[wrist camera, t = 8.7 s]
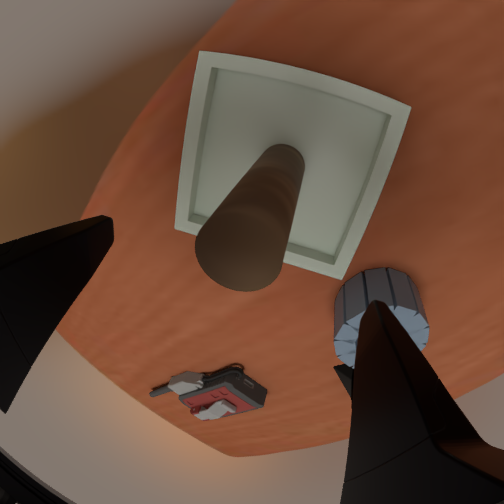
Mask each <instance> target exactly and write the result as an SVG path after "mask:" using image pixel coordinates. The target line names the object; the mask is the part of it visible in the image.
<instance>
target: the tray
mask: <svg viewBox="0 0 504 504" xmlns="http://www.w3.org/2000/svg"><path fill="white" fill-rule="evenodd" d="M410 110H411V107H410V106H408V105H406V104H403V103H401V102H399V101H397V100H394V99H392V98H389V97H387V96H384V95H382V94H379V93H377V92H374V91H372V90H369V89H366V88H363V87H361V86H358V85H355V84H352V83H349V82H346V81H343V80H340V79H337V78H333V77H330V76H327V75H323V74H320V73H317V72H313V71H309V70H305V69H302V68H298V67H294V66H289V65H285V64H281V63H276V62H271V61H266V60H261V59H256V58H250V57H244V56H238V55H232V54H224V53H217V52H208V51H199V55H198V60H197V65H196V71H195V76H194V81H193V87H192V92H191V98H190V104H189V110H188V117H187V123H186V130H185V137H184V144H183V151H182V159H181V168H180V176H179V185H178V195H177V205H176V216H175V229H177V230H180V231H184V232H187V233H190V234H193V235H197V234H198V232H199V230H200V229H201V228H202V226H203V225H204V224H205V223H206V221H207V220H208V219H209V218H210V216H211V215H212V214H213V213H214V211H215V210H216V209H217V208H218V206H219V205H220V204H221V203H222V201H223V200H224V199H225V198H226V196H227V195H228V194H229V193H230V192H231V190H232V189H233V188H234V187H235V186H236V184H237V183H238V182H239V181H240V180H241V178H242V177H243V176H244V175H245V174H246V172H247V171H248V170H249V169H250V168H251V166H252V165H253V164H254V163H255V162H256V161H257V159H258V158H259V157H260V156H261V155H262V154H263V152H264V151H265V150H266V149H267V148H269V147H270V146H273V145H275V144H287V145H290V146H292V147H294V148H296V149H297V150H298V151H299V152H300V153H301V155H302V157H303V159H304V162H305V171H304V175H303V180H302V184H301V189H300V193H299V197H298V202H297V206H296V210H295V214H294V219H293V223H292V227H291V231H290V235H289V239H288V243H287V248H286V252H285V256H284V260H283V262H284V263H288V264H291V265H294V266H297V267H301V268H304V269H307V270H310V271H314V272H317V273H320V274H323V275H327V276H330V277H333V278H337V279H340V280H342V279H343V277H344V275H345V273H346V271H347V268H348V266H349V264H350V262H351V260H352V258H353V256H354V254H355V251H356V249H357V247H358V245H359V243H360V241H361V238H362V236H363V234H364V232H365V229H366V227H367V225H368V222H369V220H370V218H371V215H372V213H373V211H374V208H375V206H376V204H377V201H378V199H379V196H380V194H381V191H382V189H383V186H384V184H385V181H386V179H387V176H388V173H389V171H390V168H391V165H392V163H393V160H394V157H395V155H396V152H397V149H398V146H399V143H400V141H401V138H402V135H403V132H404V129H405V126H406V123H407V120H408V117H409V114H410Z"/></svg>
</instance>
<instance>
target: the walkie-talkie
mask: <svg viewBox="0 0 504 504" xmlns="http://www.w3.org/2000/svg"><path fill="white" fill-rule="evenodd" d="M170 391H174V392H176V393H177V394H179V400H180V401H181V402H182V403H183V404H184V405H186V406H187V407H189V408H191V410H190V412H191V414H193V415H195V416H196V417H198V418H199V419H201V420H203V421H207V420H210V419H211V420H212V419H217V418H221V417H226V416H230V415H234V414H238V413H243V412H246V411H250V410H255V409H258V408H262V407H263V406H264V402H265V398H266V394H267V389H265V388H264V387H262V386H261V385H260V384H258V383H257V382H255V381H254V380H252V379H251V378H250V377H248V376H247V375H245V374H244V372H243V370H242V369H241V368H239V367H229V368H227V369H226V370H225V369H224V370H223V371H221V372H218V373H215V374H213V375H210V376H208V375H205V374H201V373H195V372H189V371H187V372H184V373H182V374H180V375H177V376H173V377H172V378H171V380H170V382H169V384H168V385H166V386H163V387H161V388H158V389H157V390H154V391H152V392H150V393H149V394H150V396H151V397H155V396H158V395H161V394H164V393H167V392H170Z"/></svg>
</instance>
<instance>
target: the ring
mask: <svg viewBox="0 0 504 504" xmlns="http://www.w3.org/2000/svg"><path fill="white" fill-rule="evenodd" d="M364 271H365V275H364V274H363V273H362V272H360V273H359V274H357V275H356V276H354V277H353V278H351V279H350V280H348V281H347V282H345V285H342V287H341V289H340V291H339V293H338V295H337V297H336V299H335V316H334V346H335V351H336V355H338V356H337V357H338V358H339V359H340V360H341V361H343V362H344V363H345V364H346V365H348V366H349V367H351V366H352V368H353V369H354V364H355V355H356V348H357V341H358V333H359V325H360V320H361V318H362V316H363V314H364V312H365V311H366V309H367V308H368V306H369V304H370V303H371V301H372V300H374V299H376V300H379V301H383V302H385V303H386V304H387V306H388V307H389V308H390V310H391V311H392V312H393V314H394V315H395V316H396V318H397V319H398V320H399V322H400V323H401V324H402V326H403V327H404V328H405V330H406V331H407V333H408V334H409V335H410V337H411V338H412V340H413V341H414V342H415V344H416V345H417V347H418V348H419V349H420V351H422V349H423V348H424V347H425V346H426V343H427V342H428V335H429V324H428V321H427V317H426V314H425V310H424V307H423V304H422V301H421V298H420V294H419V291H418V288H417V287H416V285H415V284H414V283H413V281H412V280H411V278H410V277H409V276H408V275H407V276H406V273H403V272H400V271H397V270H394V269H391V268H388V269H387V271H386V269H385V267H384V268H378V269H371V270H364Z"/></svg>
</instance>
